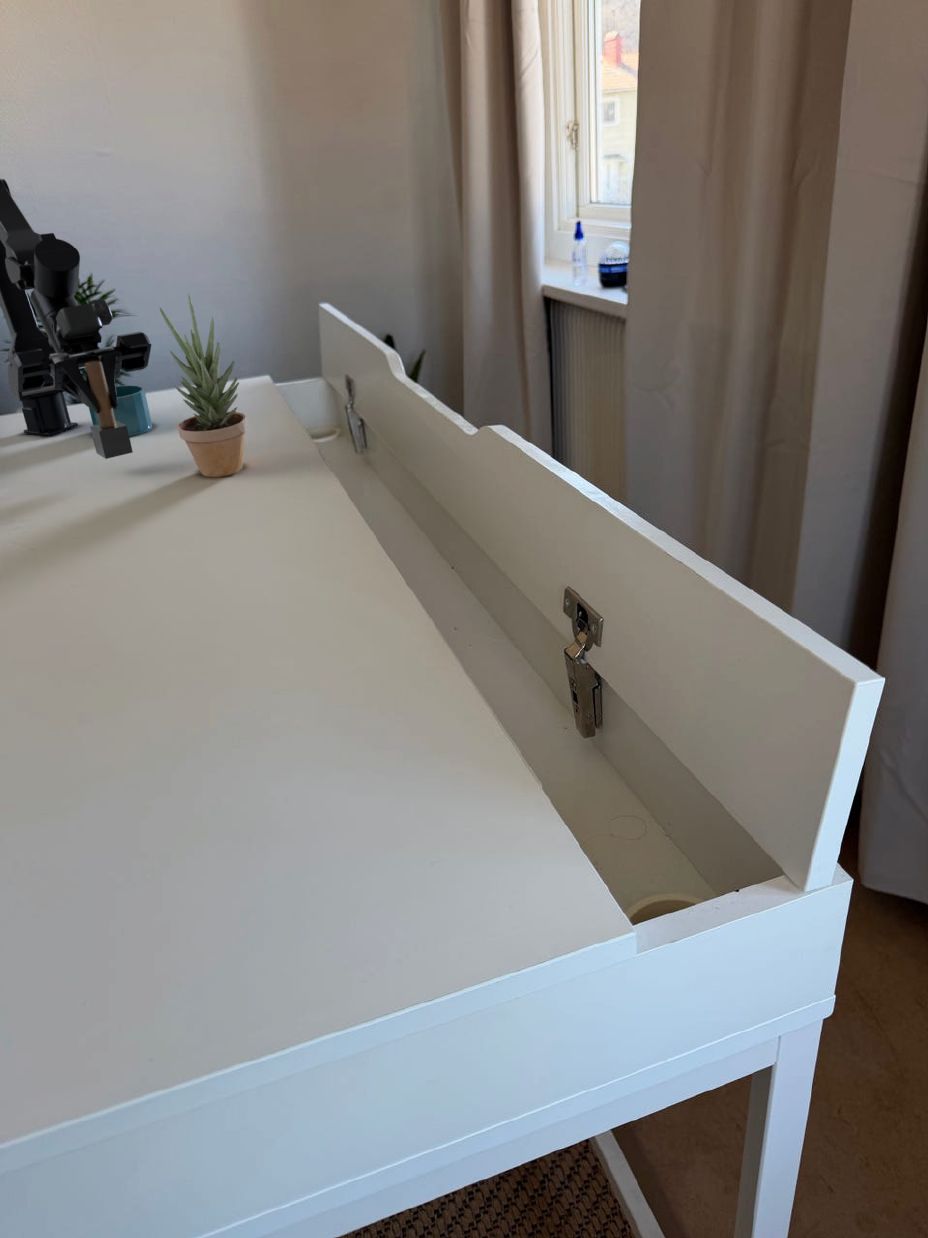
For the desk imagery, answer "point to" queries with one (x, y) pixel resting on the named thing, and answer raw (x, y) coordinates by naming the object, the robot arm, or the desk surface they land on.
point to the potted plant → (209, 406)
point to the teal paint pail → (130, 409)
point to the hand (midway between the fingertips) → (107, 409)
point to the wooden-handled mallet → (106, 417)
